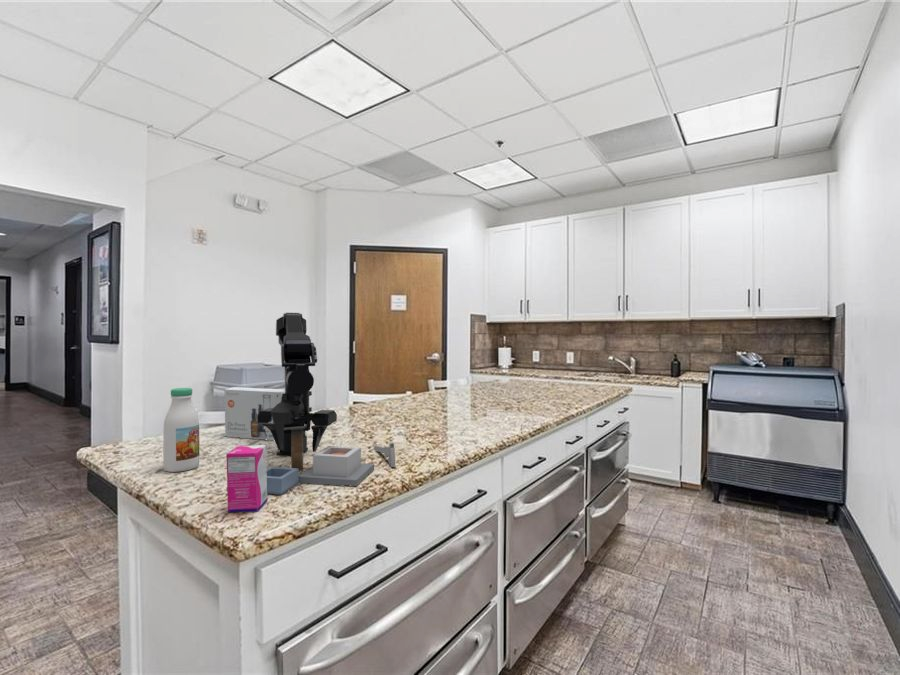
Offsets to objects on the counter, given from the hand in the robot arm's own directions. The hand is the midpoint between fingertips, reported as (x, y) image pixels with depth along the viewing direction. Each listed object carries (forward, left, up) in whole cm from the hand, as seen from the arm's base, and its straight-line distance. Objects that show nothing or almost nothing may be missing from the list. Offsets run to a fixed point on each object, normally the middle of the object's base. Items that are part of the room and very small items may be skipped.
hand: (297, 450), depth 109 cm
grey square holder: (+12, -3, -5) cm, 13 cm away
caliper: (+18, +14, -5) cm, 23 cm away
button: (+12, -3, -1) cm, 13 cm away
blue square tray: (+2, -13, -5) cm, 14 cm away
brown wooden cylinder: (0, 0, -5) cm, 5 cm away
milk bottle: (-29, -4, -5) cm, 30 cm away
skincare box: (-29, +28, -5) cm, 41 cm away
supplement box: (+2, -23, -5) cm, 24 cm away
